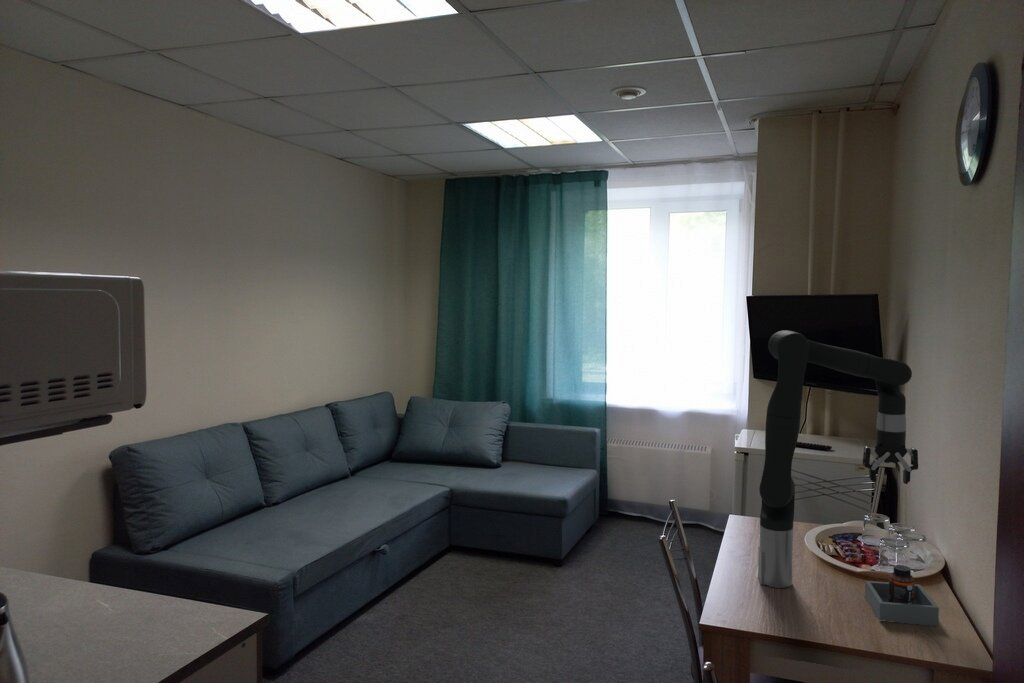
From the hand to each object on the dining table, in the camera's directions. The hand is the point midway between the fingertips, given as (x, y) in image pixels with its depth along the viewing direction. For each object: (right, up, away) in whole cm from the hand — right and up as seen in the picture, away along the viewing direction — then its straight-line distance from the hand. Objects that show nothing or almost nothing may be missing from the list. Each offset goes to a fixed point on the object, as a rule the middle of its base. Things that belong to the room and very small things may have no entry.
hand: (889, 482), depth 207 cm
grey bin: (-6, -32, -16) cm, 36 cm away
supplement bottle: (-5, -31, -16) cm, 35 cm away
